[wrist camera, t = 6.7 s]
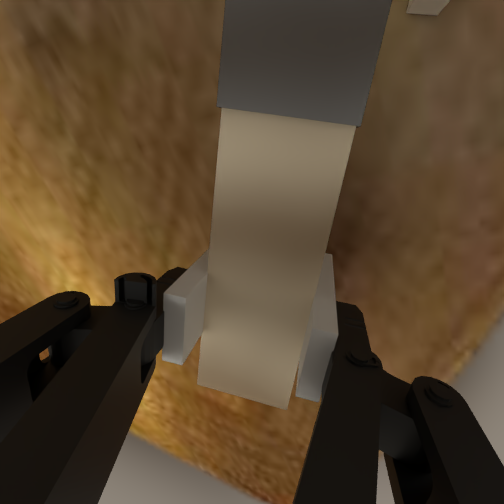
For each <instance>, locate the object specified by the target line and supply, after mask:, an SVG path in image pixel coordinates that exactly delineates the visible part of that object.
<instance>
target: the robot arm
mask: <svg viewBox="0 0 504 504" xmlns="http://www.w3.org/2000/svg"><path fill="white" fill-rule="evenodd" d="M208 257H209V249H208V250H207V251H206V252H205V253H204V254H203V255H202V256H201V257H200V258H199V259H198V260H197V261H196V262H195V263H194V264H193V265H192V266H191V267H190V268H189V269H185V268H180V267H176V268H174V269H171V270H169V271H167V272H166V273H165V274H164V275H162V277H160V278H159V279H158V280H156V279H155V277H153V276H151V275H150V274H145V273H128V274H124V275H121V276H119V277H117V278H116V279H114V282H115V303H114V304H113V305H112V306H91V304H90V298H89V296H88V295H87V294H85V293H83V292H77V291H66V292H62V293H58V294H55V295H53V296H50V297H48V298H46V299H45V300H43V301H41V302H39V303H37V304H36V305H34V306H32V307H30V308H28V309H27V310H25V311H23V312H21V313H19V314H17V315H16V316H14V317H12V318H10V319H8V320H7V321H5V322H3V323H1V324H0V504H98V502H99V499H100V497H101V495H102V492H103V490H104V487H105V485H106V483H107V480H108V478H109V475H110V473H111V471H112V468H113V466H114V464H115V461H116V459H117V456H118V454H119V452H120V450H121V447H122V445H123V442H124V440H125V438H126V435H127V433H128V431H129V428H130V426H131V424H132V421H133V419H134V416H135V414H136V412H137V409H138V407H139V405H140V402H141V400H142V398H143V395H144V393H145V390H146V388H147V386H148V383H149V381H150V379H151V376H152V374H153V372H154V369H155V365H156V355H157V354H158V353H159V351H160V350H161V349H162V360H165V361H168V362H172V363H176V364H179V365H183V363H184V362H185V360H186V358H187V357H188V355H189V353H190V352H191V350H192V349H193V347H194V345H195V344H196V342H197V340H198V339H199V337H200V336H201V334H202V332H203V323H204V311H205V299H206V288H207V276H208V272H207V268H208ZM46 348H48V350H49V356H48V357H47V358H45V359H43V360H40V357H39V354H40V353H41V352H42V351H44V350H45V349H46ZM321 392H322V402H321V405H320V408H319V412H318V415H317V419H316V422H315V425H314V429H313V433H312V437H311V440H310V444H309V447H308V451H307V454H306V458H305V461H304V465H303V468H302V472H301V475H300V479H299V483H298V486H297V490H296V493H295V497H294V500H293V504H376V494H377V473H378V453H379V450H381V451H383V452H384V458H385V463H386V467H387V471H388V476H389V480H390V484H391V488H392V493H393V497H394V502H395V504H504V466H503V464H502V463H501V461H500V459H499V458H498V456H497V454H496V452H495V451H494V449H493V447H492V445H491V444H490V442H489V440H488V439H487V437H486V435H485V433H484V432H483V430H482V428H481V427H480V425H479V423H478V421H477V420H476V418H475V416H474V415H473V413H472V411H471V410H470V408H469V406H468V404H467V403H466V401H465V400H464V399H463V397H462V396H461V395H460V394H459V393H458V392H457V391H456V390H455V389H453V388H452V387H451V386H449V385H448V384H446V383H444V382H442V381H440V380H438V379H435V378H432V377H426V376H420V377H417V378H415V379H414V381H413V382H412V384H409V383H407V382H405V381H403V380H400V379H398V378H396V377H394V376H392V375H391V374H389V373H387V372H386V371H385V370H383V367H382V363H381V361H380V359H379V358H378V357H377V355H376V354H374V353H373V352H372V351H371V348H370V344H369V339H368V335H367V330H366V326H365V323H364V317H363V313H362V312H361V311H360V310H359V308H358V307H357V306H356V305H352V304H348V303H343V302H338V301H336V297H335V284H334V272H333V259H332V254H327V253H325V256H324V260H323V264H322V268H321V272H320V276H319V280H318V285H317V289H316V293H315V296H314V299H313V303H312V307H311V312H310V316H309V320H308V324H307V328H306V332H305V337H304V341H303V345H302V349H301V353H300V359H299V368H298V378H297V387H296V396H297V397H301V398H304V399H308V400H311V401H315V402H319V399H320V396H321Z"/></svg>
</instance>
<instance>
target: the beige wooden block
mask: <svg viewBox="0 0 504 504" xmlns="http://www.w3.org/2000/svg"><path fill="white" fill-rule="evenodd" d="M391 3H392V0H225V11H224V23H223V35H222V47H221V59H220V71H219V83H218V95H217V107H220V108H222V111H221V122H220V134H219V145H218V156H217V167H216V178H215V190H214V201H213V212H212V223H211V235H210V246H209V257H208V268H207V272H208V276H207V288H206V299H205V311H204V323H203V332H202V336H201V347H200V358H199V369H198V381H197V384H198V385H201V386H205V387H208V388H212V389H215V390H219V391H222V392H225V393H229V394H232V395H236V396H239V397H243V398H246V399H250V400H253V401H257V402H260V403H264V404H267V405H271V406H274V407H278V408H281V409H285V410H287V407H288V403H289V399H290V395H291V391H292V387H293V383H294V379H295V375H296V370H297V366H298V362H299V358H300V353H301V349H302V345H303V341H304V337H305V332H306V328H307V324H308V320H309V316H310V312H311V307H312V303H313V299H314V296H315V293H316V289H317V285H318V280H319V276H320V272H321V268H322V264H323V260H324V256H325V252H326V248H327V244H328V240H329V235H330V231H331V227H332V223H333V219H334V215H335V211H336V207H337V203H338V199H339V195H340V190H341V186H342V182H343V178H344V174H345V170H346V166H347V162H348V158H349V154H350V150H351V145H352V141H353V137H354V133H355V129H356V128H357V127H360V126H361V123H362V119H363V115H364V111H365V107H366V103H367V99H368V95H369V91H370V87H371V83H372V79H373V75H374V71H375V67H376V63H377V59H378V55H379V51H380V47H381V43H382V39H383V35H384V31H385V27H386V23H387V19H388V15H389V11H390V7H391Z"/></svg>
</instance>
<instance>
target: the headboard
mask: <svg viewBox="0 0 504 504" xmlns="http://www.w3.org/2000/svg"><path fill="white" fill-rule="evenodd" d="M449 1H450V0H409V4H408V8H407V11H406V13H410V14H423V15H436V16H437V15H438V14H439V13H440V12H441V11H442V9H443V8H444V7H445V6H446V5H447V4H448V3H449Z"/></svg>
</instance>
